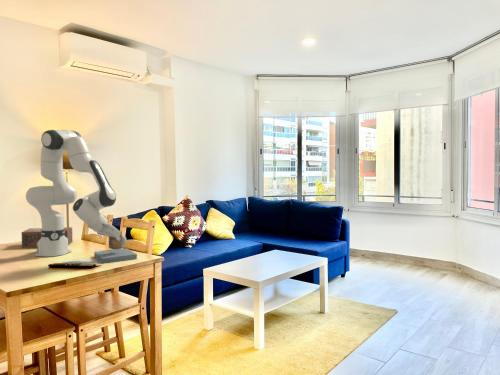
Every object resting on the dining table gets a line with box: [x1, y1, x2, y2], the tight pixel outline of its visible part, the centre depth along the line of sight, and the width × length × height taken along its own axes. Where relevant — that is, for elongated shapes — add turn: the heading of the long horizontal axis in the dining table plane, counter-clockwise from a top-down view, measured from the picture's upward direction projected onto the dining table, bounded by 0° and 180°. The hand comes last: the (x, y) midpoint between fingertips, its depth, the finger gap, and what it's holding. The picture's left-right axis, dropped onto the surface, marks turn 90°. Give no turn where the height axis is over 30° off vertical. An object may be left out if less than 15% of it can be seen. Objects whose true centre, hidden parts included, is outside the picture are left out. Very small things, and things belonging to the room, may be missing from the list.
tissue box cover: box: [21, 226, 73, 249], centre depth 245 cm, size 26×14×10 cm, turn 104°
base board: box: [93, 247, 138, 264], centre depth 213 cm, size 18×18×2 cm
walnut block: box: [108, 231, 123, 250], centre depth 212 cm, size 5×5×9 cm
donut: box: [119, 233, 127, 249], centre depth 233 cm, size 10×4×10 cm, turn 108°
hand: (116, 239), depth 212 cm, fingers closed on walnut block, 5 cm apart
